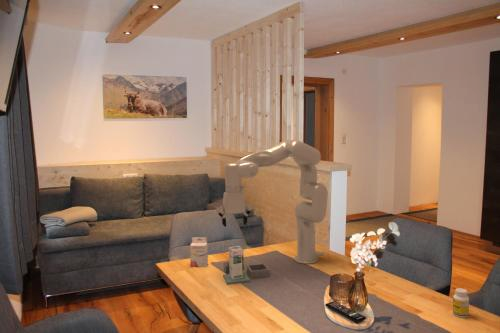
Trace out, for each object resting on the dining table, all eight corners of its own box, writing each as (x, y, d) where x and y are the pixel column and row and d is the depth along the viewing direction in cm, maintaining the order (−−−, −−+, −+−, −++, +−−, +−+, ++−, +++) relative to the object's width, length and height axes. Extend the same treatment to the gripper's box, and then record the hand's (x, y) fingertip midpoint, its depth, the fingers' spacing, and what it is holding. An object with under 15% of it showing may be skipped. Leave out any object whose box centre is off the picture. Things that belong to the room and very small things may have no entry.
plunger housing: (235, 268, 219) (235, 261, 219) (237, 272, 213) (237, 265, 213) (223, 270, 218) (223, 262, 217) (226, 274, 212) (225, 266, 211)
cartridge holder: (264, 270, 216) (264, 263, 216) (269, 276, 207) (269, 269, 207) (246, 272, 214) (246, 265, 214) (251, 278, 205) (251, 271, 205)
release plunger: (233, 268, 218) (233, 257, 217) (235, 270, 214) (235, 259, 213) (226, 269, 217) (225, 258, 216) (227, 271, 213) (227, 260, 212)
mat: (244, 273, 212) (244, 271, 211) (250, 281, 201) (250, 279, 201) (222, 276, 209) (222, 274, 209) (227, 284, 198) (227, 282, 198)
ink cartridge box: (190, 267, 224) (189, 239, 222) (192, 263, 229) (191, 236, 227) (206, 267, 223) (205, 239, 221) (208, 263, 228) (207, 236, 226)
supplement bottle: (449, 312, 165) (450, 287, 164) (463, 311, 165) (464, 286, 164) (457, 318, 160) (458, 293, 158) (471, 317, 160) (472, 292, 159)
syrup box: (232, 280, 201) (231, 249, 200) (229, 275, 207) (228, 246, 205) (244, 278, 203) (243, 248, 202) (240, 274, 209) (239, 245, 207)
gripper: (249, 186, 206) (250, 221, 208) (213, 189, 202) (215, 225, 204) (253, 189, 199) (254, 225, 201) (216, 192, 195) (218, 228, 197)
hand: (234, 225), depth 202 cm, fingers open, 9 cm apart
